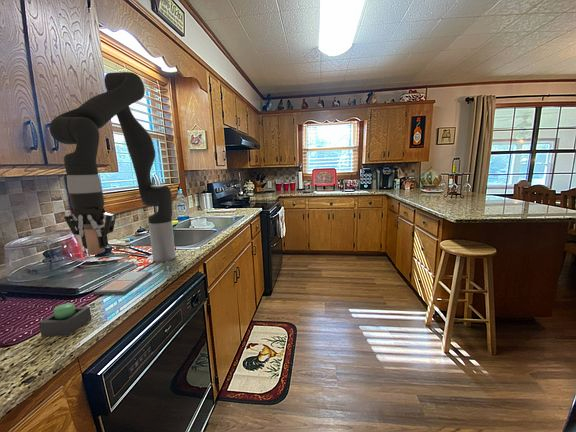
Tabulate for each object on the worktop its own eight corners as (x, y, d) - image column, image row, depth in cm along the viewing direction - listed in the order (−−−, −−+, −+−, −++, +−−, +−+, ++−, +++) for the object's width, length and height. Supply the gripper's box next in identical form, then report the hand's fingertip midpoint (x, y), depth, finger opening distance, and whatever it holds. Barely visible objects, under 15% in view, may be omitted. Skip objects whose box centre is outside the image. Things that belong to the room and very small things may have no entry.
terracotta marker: (89, 251, 75) (83, 222, 73) (105, 249, 77) (100, 221, 76) (87, 255, 72) (81, 225, 70) (104, 252, 74) (99, 223, 72)
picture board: (126, 274, 95) (125, 271, 95) (151, 273, 95) (151, 271, 95) (93, 294, 80) (93, 291, 79) (124, 294, 80) (124, 290, 79)
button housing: (66, 319, 66) (64, 307, 66) (91, 318, 66) (89, 306, 66) (41, 335, 60) (38, 322, 59) (69, 335, 60) (66, 322, 59)
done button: (64, 310, 64) (63, 302, 64) (79, 309, 64) (78, 302, 64) (50, 319, 60) (48, 311, 60) (66, 318, 60) (64, 311, 60)
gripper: (119, 189, 75) (127, 243, 78) (72, 189, 75) (82, 244, 78) (100, 191, 67) (110, 251, 71) (48, 192, 67) (61, 252, 71)
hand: (96, 247), depth 74 cm, fingers closed on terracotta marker, 4 cm apart
